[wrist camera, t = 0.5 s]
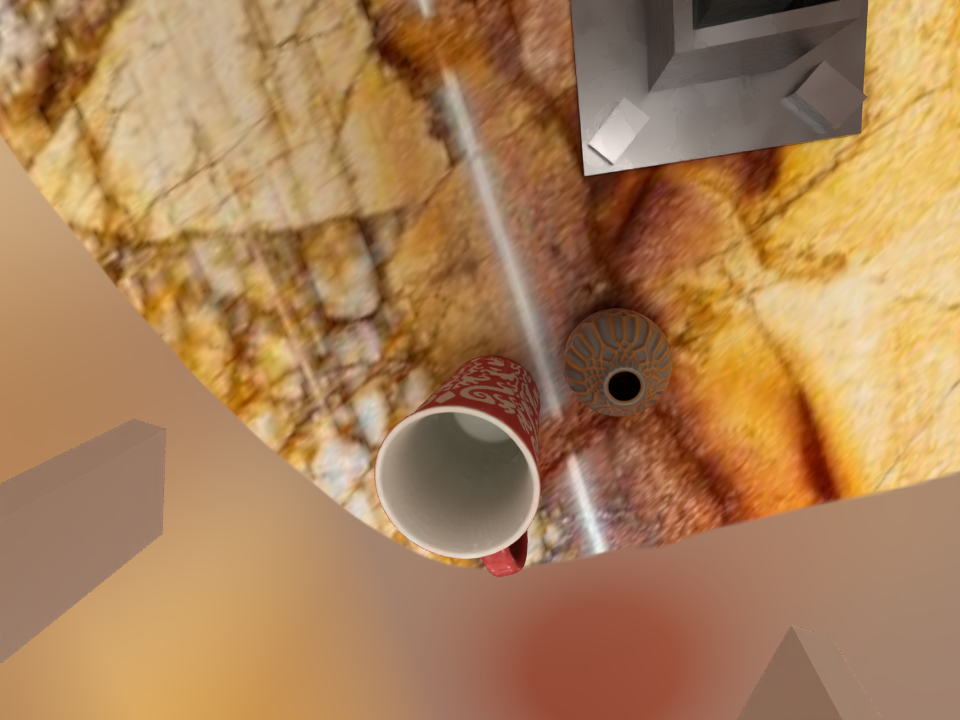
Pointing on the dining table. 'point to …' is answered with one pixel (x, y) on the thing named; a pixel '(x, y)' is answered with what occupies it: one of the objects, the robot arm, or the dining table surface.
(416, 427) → the mug
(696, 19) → the column
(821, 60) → the stand base
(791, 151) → the dining table surface
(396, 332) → the dining table surface
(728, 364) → the dining table surface
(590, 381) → the vase
